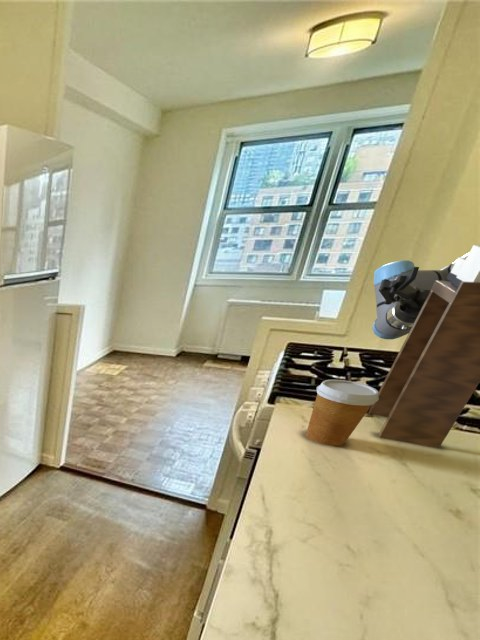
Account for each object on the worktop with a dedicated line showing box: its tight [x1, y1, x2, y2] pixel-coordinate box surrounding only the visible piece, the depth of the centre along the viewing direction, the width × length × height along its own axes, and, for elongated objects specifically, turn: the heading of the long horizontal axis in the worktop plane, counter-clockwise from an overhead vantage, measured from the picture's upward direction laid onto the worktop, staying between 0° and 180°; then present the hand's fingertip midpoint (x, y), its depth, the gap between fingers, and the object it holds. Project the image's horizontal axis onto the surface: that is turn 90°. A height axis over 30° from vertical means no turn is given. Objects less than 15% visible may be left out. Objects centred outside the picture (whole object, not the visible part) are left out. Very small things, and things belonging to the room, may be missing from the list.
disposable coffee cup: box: [305, 379, 379, 447], centre depth 100 cm, size 10×10×12 cm
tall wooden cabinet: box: [368, 280, 480, 449], centre depth 98 cm, size 9×16×32 cm, turn 145°
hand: (459, 275), depth 102 cm, fingers open, 13 cm apart
